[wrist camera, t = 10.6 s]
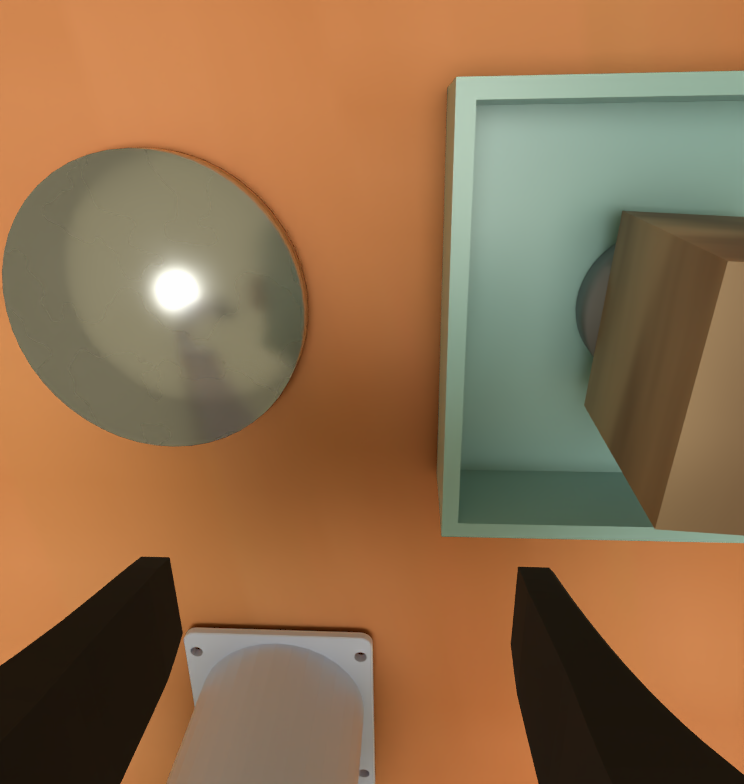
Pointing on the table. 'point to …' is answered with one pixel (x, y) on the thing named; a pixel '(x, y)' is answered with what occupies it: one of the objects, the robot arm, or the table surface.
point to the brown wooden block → (671, 365)
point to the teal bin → (556, 281)
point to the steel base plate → (155, 295)
